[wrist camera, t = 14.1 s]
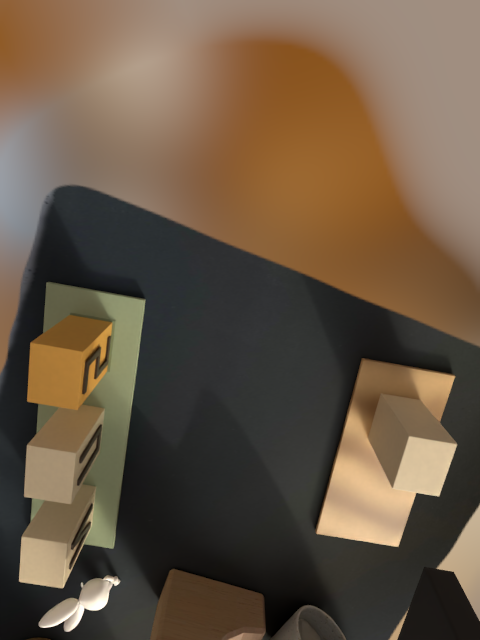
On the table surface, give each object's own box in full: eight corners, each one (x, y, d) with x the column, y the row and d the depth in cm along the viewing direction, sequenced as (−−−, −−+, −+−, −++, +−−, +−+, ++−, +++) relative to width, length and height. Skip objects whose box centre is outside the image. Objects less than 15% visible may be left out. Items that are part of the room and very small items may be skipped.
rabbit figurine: (132, 594, 52) (68, 647, 49) (117, 564, 54) (55, 613, 52) (113, 581, 48) (42, 639, 45) (98, 550, 50) (29, 602, 47)
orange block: (69, 314, 42) (30, 342, 35) (114, 322, 43) (85, 351, 35) (65, 364, 44) (26, 401, 36) (109, 372, 44) (80, 410, 36)
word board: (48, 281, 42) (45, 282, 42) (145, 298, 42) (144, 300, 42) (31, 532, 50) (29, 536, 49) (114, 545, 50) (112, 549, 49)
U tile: (64, 401, 45) (26, 445, 37) (107, 408, 45) (78, 453, 37) (60, 445, 46) (23, 497, 39) (102, 452, 46) (73, 505, 39)
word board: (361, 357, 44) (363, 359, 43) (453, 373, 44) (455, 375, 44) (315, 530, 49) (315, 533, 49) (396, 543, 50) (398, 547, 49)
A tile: (380, 392, 44) (409, 435, 37) (422, 400, 44) (460, 444, 37) (367, 438, 46) (392, 489, 38) (408, 445, 46) (441, 497, 38)
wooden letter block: (57, 479, 47) (21, 536, 40) (98, 486, 47) (69, 543, 40) (54, 520, 49) (18, 582, 41) (93, 526, 49) (65, 589, 41)
